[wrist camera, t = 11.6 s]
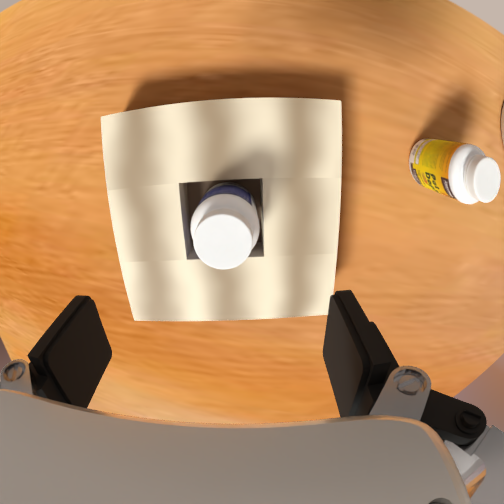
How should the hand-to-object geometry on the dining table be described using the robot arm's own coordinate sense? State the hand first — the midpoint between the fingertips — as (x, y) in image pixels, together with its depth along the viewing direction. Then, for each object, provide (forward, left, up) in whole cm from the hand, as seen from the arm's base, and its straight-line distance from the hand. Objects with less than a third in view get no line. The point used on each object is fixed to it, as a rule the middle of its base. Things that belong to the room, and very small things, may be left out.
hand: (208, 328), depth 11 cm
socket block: (0, 0, -19) cm, 19 cm away
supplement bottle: (-22, -5, -19) cm, 29 cm away
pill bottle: (0, 0, -18) cm, 18 cm away
